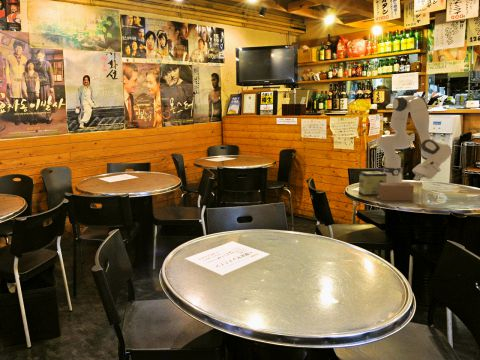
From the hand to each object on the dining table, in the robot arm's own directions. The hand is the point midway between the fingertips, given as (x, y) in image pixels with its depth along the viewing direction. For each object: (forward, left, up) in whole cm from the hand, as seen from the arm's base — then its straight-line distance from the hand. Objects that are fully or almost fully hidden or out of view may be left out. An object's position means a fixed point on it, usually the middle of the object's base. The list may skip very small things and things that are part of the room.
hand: (415, 180), depth 276 cm
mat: (0, -13, -13) cm, 19 cm away
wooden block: (-1, -1, -8) cm, 8 cm away
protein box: (-19, -20, -14) cm, 31 cm away
